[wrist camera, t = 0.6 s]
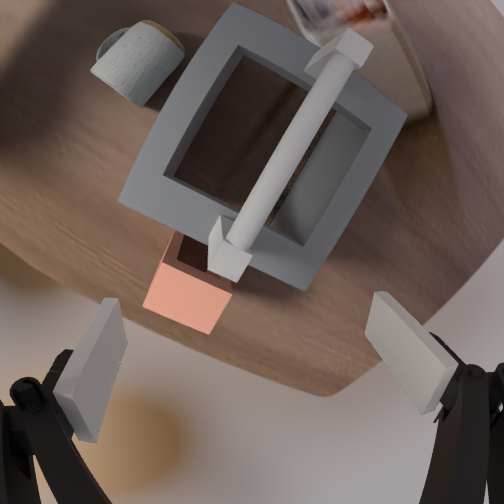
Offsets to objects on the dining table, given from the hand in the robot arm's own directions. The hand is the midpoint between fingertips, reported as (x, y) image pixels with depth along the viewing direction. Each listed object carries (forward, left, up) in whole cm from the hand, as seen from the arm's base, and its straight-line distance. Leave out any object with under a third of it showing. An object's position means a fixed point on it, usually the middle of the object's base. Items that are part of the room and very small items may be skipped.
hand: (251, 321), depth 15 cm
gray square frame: (-1, +9, -23) cm, 25 cm away
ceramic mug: (-19, +11, -23) cm, 32 cm away
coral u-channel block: (-1, -7, -23) cm, 24 cm away
